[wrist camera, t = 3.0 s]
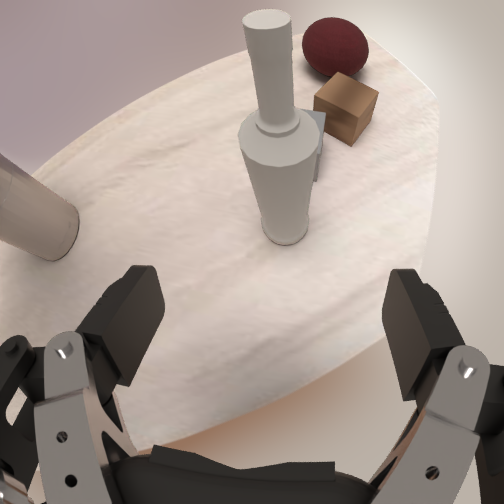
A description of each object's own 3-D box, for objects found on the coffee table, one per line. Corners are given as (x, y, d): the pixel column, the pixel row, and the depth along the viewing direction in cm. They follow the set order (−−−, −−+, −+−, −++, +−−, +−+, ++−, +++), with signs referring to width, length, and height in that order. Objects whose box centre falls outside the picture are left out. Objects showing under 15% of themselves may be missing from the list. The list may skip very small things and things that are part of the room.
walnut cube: (312, 125, 37) (314, 95, 31) (333, 101, 38) (337, 71, 32) (351, 147, 35) (358, 117, 29) (370, 121, 36) (378, 92, 30)
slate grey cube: (267, 173, 36) (262, 145, 30) (276, 136, 37) (273, 105, 31) (316, 181, 34) (320, 154, 29) (322, 143, 36) (325, 112, 30)
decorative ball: (326, 97, 38) (331, 44, 28) (290, 62, 41) (287, 14, 31) (376, 80, 38) (387, 33, 28) (338, 48, 41) (341, 3, 31)
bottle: (285, 195, 34) (266, -10, 10) (318, 225, 33) (352, 20, 9) (252, 225, 34) (182, 29, 10) (285, 256, 32) (266, 65, 8)
